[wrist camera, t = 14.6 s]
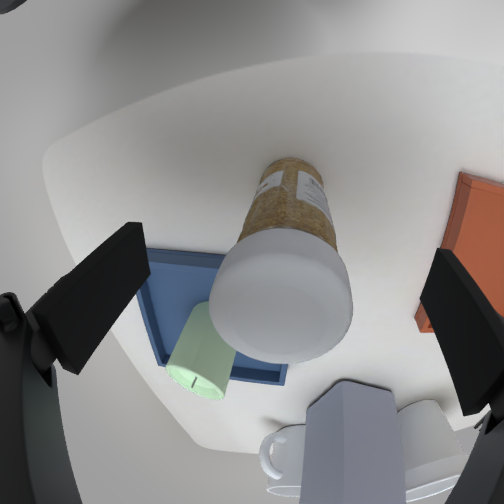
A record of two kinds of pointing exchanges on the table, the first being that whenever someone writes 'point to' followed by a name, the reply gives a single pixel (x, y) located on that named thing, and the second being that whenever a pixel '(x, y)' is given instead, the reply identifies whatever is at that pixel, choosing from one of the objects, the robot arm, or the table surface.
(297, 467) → the mug
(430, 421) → the cup
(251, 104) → the table surface
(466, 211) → the terracotta tray
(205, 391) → the candle
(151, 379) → the table surface
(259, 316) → the sprinkles bottle
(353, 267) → the table surface
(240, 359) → the blue tray
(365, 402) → the soap bottle
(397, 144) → the table surface
